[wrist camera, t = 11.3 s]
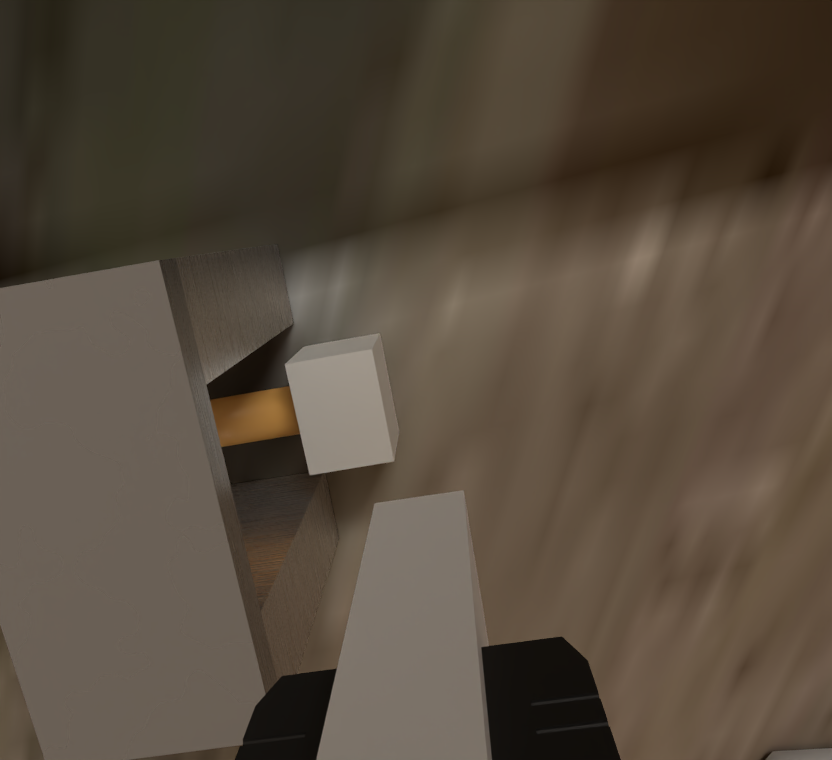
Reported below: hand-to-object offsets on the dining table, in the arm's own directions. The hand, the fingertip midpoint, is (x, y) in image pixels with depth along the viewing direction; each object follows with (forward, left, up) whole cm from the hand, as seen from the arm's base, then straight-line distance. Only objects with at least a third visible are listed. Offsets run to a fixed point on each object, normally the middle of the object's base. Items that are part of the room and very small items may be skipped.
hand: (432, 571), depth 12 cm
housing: (+8, 0, -16) cm, 18 cm away
